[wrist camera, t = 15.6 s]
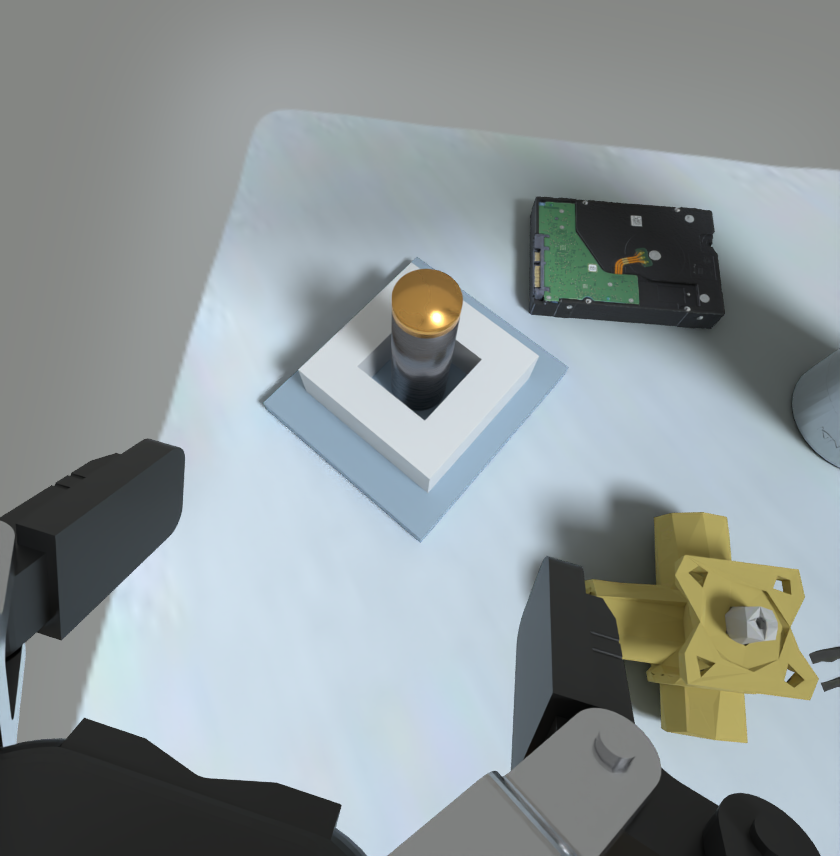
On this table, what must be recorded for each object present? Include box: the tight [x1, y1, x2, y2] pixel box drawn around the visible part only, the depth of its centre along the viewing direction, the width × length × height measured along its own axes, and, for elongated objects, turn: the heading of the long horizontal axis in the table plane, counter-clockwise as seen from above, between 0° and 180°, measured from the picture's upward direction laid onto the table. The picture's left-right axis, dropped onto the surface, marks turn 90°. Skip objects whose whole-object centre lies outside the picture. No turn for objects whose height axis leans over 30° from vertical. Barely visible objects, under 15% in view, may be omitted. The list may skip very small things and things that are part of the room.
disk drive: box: [529, 197, 725, 329], centre depth 48 cm, size 10×3×15 cm
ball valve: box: [585, 512, 819, 743], centre depth 34 cm, size 13×10×10 cm
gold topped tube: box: [391, 269, 463, 411], centre depth 38 cm, size 4×4×11 cm
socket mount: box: [263, 257, 569, 543], centre depth 42 cm, size 17×15×5 cm
